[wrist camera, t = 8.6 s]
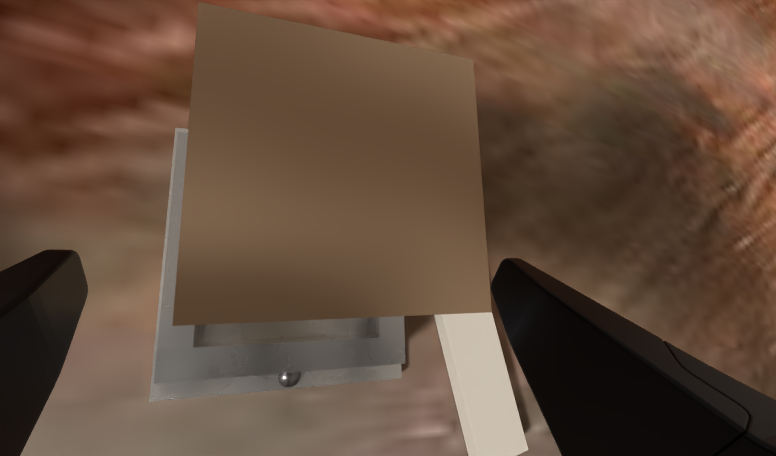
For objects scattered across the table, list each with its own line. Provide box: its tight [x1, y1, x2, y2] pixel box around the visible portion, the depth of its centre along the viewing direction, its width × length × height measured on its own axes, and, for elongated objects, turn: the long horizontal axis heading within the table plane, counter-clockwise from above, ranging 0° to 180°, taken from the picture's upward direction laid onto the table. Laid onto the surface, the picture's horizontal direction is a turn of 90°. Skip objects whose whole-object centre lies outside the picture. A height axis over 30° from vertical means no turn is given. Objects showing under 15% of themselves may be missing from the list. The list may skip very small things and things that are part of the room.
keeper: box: [149, 128, 405, 402], centre depth 17 cm, size 12×11×3 cm
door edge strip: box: [434, 312, 528, 456], centre depth 21 cm, size 22×3×1 cm, turn 14°
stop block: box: [172, 2, 492, 326], centre depth 12 cm, size 5×5×13 cm
